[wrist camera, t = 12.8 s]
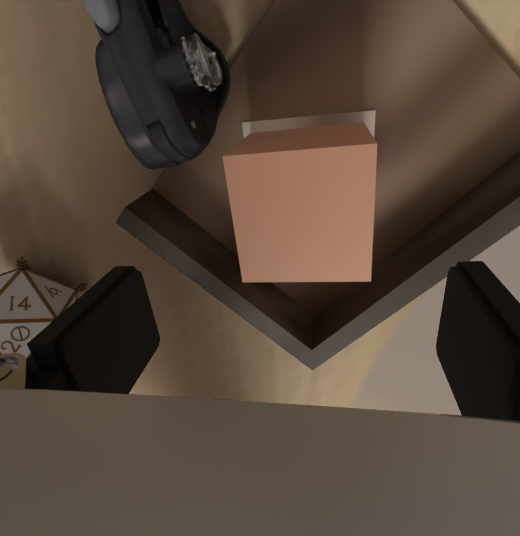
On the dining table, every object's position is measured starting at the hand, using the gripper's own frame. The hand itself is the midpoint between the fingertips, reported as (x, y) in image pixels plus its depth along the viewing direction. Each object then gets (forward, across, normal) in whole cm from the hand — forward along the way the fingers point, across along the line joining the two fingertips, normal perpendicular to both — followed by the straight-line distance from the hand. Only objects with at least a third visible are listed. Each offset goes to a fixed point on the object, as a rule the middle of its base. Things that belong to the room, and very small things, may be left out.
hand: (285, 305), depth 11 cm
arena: (+12, -1, -1) cm, 12 cm away
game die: (+12, +20, +7) cm, 25 cm away
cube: (+11, 0, -1) cm, 11 cm away
